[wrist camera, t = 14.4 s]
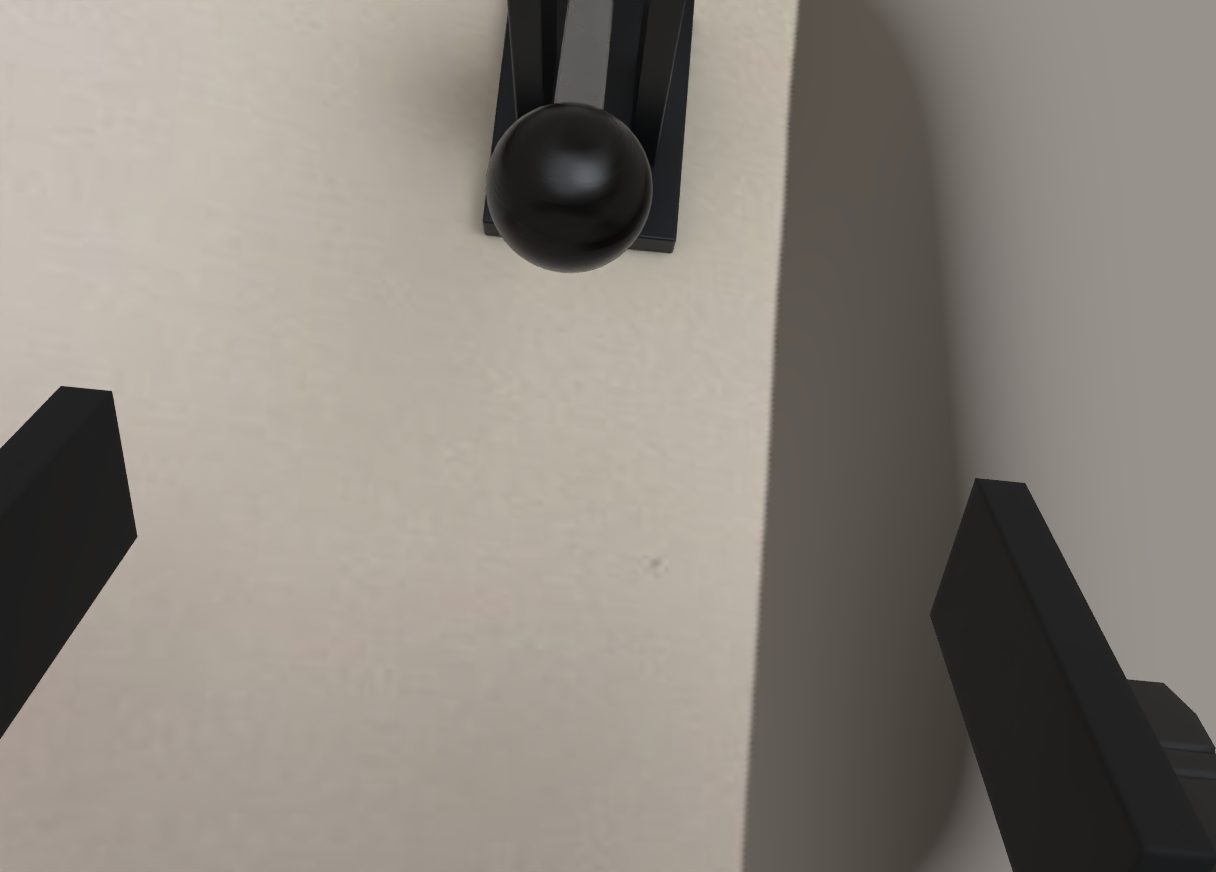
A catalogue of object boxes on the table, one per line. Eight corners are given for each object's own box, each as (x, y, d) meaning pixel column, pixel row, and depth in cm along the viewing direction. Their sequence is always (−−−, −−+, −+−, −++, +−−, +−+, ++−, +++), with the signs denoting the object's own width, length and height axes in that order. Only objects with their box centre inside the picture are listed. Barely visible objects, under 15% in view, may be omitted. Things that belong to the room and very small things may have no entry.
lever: (639, 313, 24) (658, 196, 21) (478, 298, 24) (472, 178, 21) (664, -64, 31) (679, -189, 28) (541, -77, 31) (544, -204, 28)
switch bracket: (672, 253, 40) (730, 36, 26) (484, 235, 40) (446, 7, 26) (691, 15, 42) (753, -296, 29) (513, -3, 42) (491, -326, 28)
